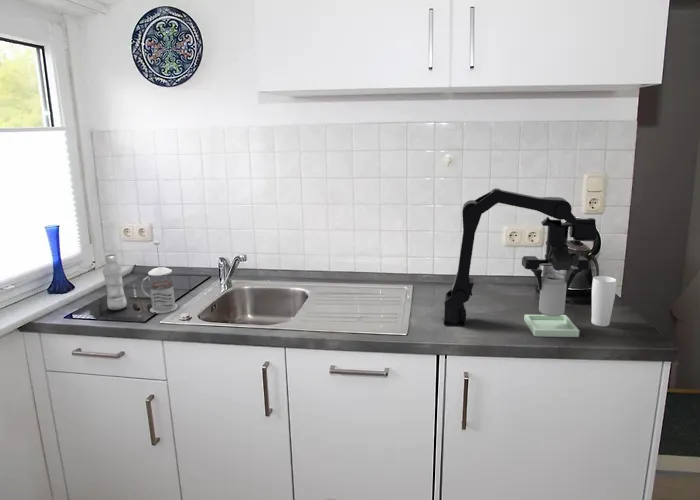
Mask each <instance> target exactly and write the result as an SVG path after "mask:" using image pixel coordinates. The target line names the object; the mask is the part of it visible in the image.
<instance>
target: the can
mask: <svg viewBox="0 0 700 500" xmlns="http://www.w3.org/2000/svg"><path fill="white" fill-rule="evenodd" d="M565 279H566V276H563V275H560V274H555V273H554V274H553V273H549V274H548V273H547V274H544V275H543V276H542V287H541V290H539V301H538V311H539V312H540V313H541V315H546V316H550V317H558V316H561V315H564V314H565V311H566V300H567V299H566V296H567V290H566V288H567V282H566V281H565Z"/></svg>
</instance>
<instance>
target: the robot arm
mask: <svg viewBox="0 0 700 500" xmlns="http://www.w3.org/2000/svg"><path fill="white" fill-rule="evenodd" d="M497 204H503V205H508V206H513V207H517V208H522V209H527V210H532V211H537V212H538V213H539V212H540V213H542V214H544V215H546V218H545V219H544V220H542V221H541V223H540V224H541V225H542V226H543V227H547V236H546V237H547V238H546V241H545V245H546V248H545V249H546V250H545V254H544V259H539V258H538V257H537V256H536V255H530V256H529V255H524V256H523V257H522V258H521V266H522V267H523V268H524V269H525V270H530V271H531V272H533V275H534V277H535V281H536V284H537V287H538V290H539V291H540V290H541V287H542V279H543V276H542V274H543V269H541V266H543V267H544V266H545V267H549V266H550V267H551V266H552V267H553V270H554V271H556V272H557V271H565V279H564V280H565V281H566V282H567V288H566V291H568V290H569V288H570V286H571V284H572V282H573V280H574V279H575V277H576V275H578V274H579V273H582V272H584V271H585V270H586V271H589V270H590V269H591V262H590V260H589V259H587V258H586V257H585V256H581V255H579V253H577V252H572V253H569V245H568V237H569V238H572V240H573V241H574V242H595V241H596V240H597V235H598V231H597V225H596V219H595V218H593V217H589V218H576V217H577V216H575V215H574V214H573V213H572V206H571V204H570V202H568V201H567V200H566V199H565V198H564V197H559V196H558V197H557V196H548V197H545V196H542V197H541V196H533V195H527V194H523V193H518V192H515V191H514V192H513V191H508V190H504V189H500V188H497V187H495V188H493V189H491V190H490V191H489V192H487V193H485V194H483V195H481V196H479V197H478V198H476V199H475V200H474V199H471V200H467V201H465V202H464V203H463V206H462V211H461V212H462V213H461V215H462V238H461V244H460V251H459V259H458V268H457V272H456V275H455V277H454V280H453V283H452V285H451V289H450V290H448V291H447V292H445V296H444V302H443V316H442V322H443V325H444V326H451V327H452V326H456V327H457V326H458V327H459V326H461V327H462V326H463V327H464V326H466V325H465V324H466V320H467V319H466V318H467V310H466V308H465V304H464V303H467V302H468V301H469V300H470V298H471V297H472V296H473V288H474V284H475V281H474V280H475V278H474V277H470V272H471V270H470V269H471V264H472V257H473V250H474V249H473V248H474V243H475V237H476V236H475V235H476V231H477V229H478V226H479V223H480V220H481V219H482V218H481V217H482V215H483V214H485V212H488V211H489V210H490V209H491V208H493V207H494V206H495V205H497ZM550 217H551V218H554V219H551V218H550ZM562 220H564V221H566V222H562Z"/></svg>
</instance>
